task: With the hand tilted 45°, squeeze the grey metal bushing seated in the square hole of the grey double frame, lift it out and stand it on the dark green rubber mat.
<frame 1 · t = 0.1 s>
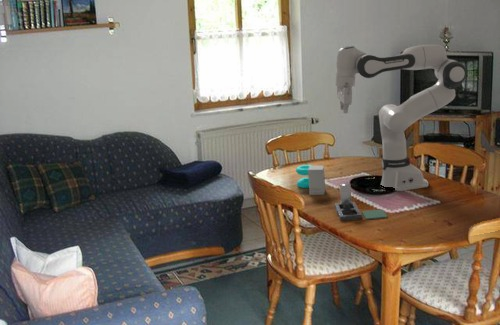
hand: (343, 111, 279), 39 cm above the table, tool pointing down, fingers open, 8 cm apart
grey double frame: (347, 213, 259), on the table
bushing: (346, 210, 262), resting in grey double frame
supplement box: (317, 192, 290), on the table
mat: (374, 215, 254), on the table
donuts: (307, 186, 301), on the table
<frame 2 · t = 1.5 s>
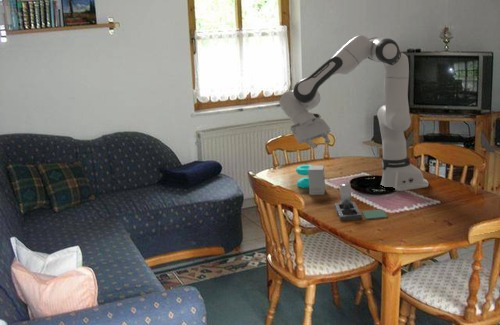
hand: (322, 145, 265), 28 cm above the table, tool tilted 45°, fingers open, 8 cm apart
nothing on the table moved.
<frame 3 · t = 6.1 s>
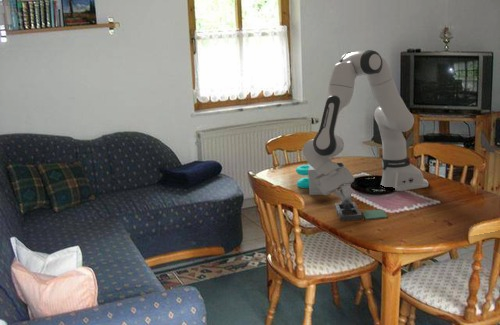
hand: (347, 195, 260), 7 cm above the table, tool tilted 45°, fingers closed on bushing, 5 cm apart
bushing: (346, 210, 262), resting in grey double frame, touching gripper
everything else where it was.
when the fingers open (9 cm above the table, at t = 11.5 s): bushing drops 1 cm, resting on mat.
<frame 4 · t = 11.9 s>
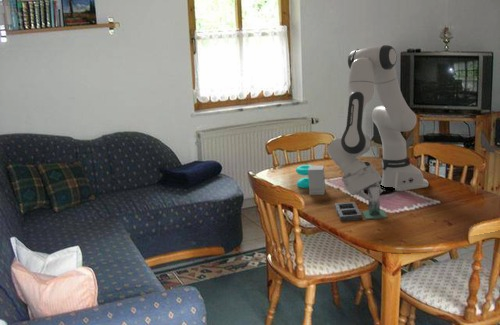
hand: (374, 196, 251), 9 cm above the table, tool tilted 45°, fingers open, 8 cm apart
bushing: (374, 213, 253), point 1 cm above the table, touching mat
everything else where it was.
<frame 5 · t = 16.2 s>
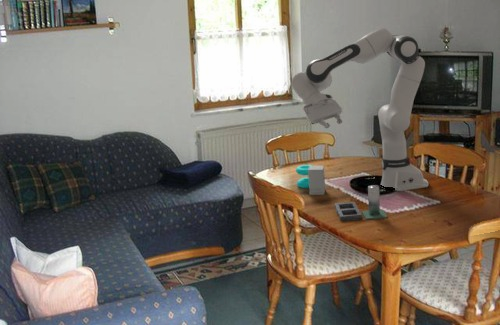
hand: (334, 125, 268), 35 cm above the table, tool tilted 45°, fingers open, 8 cm apart
nothing on the table moved.
at the end: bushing inside the target area on the mat (0.1 cm from its centre), point 0.6 cm above the mat's base; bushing tilted 1°; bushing touching mat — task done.
